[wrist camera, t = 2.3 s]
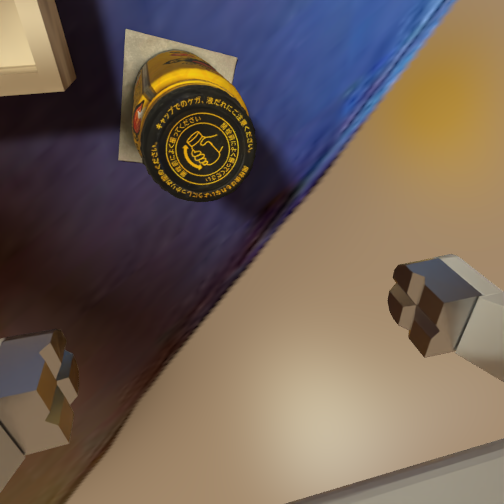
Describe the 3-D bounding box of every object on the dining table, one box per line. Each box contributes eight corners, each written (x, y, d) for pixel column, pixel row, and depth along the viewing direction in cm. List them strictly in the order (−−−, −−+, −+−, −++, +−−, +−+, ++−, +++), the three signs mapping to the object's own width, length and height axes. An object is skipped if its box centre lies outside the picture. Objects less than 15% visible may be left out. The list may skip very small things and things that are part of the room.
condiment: (236, 57, 25) (294, 88, 15) (214, 172, 29) (249, 253, 20) (125, 28, 23) (112, 44, 13) (118, 158, 27) (105, 243, 17)
